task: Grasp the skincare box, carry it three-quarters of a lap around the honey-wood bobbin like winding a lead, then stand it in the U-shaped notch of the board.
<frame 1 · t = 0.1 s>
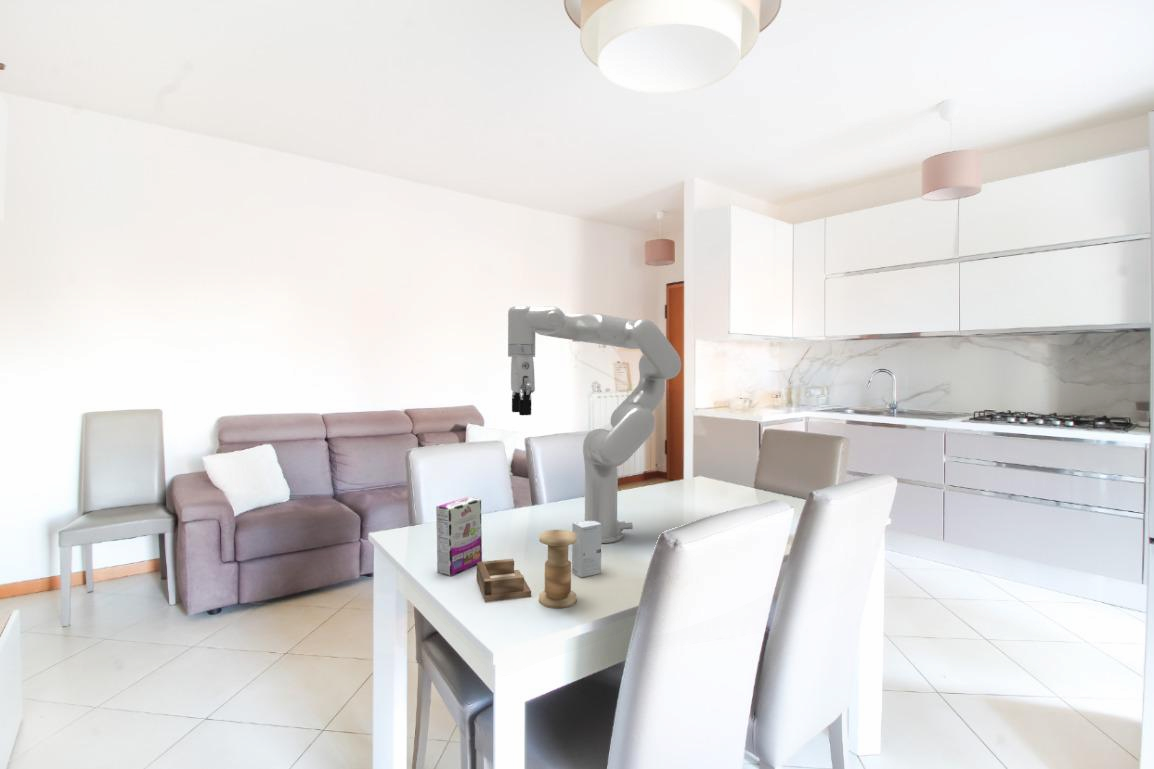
hand: (521, 413, 153), 37 cm above the table, tool pointing down, fingers open, 9 cm apart
skincare box: (586, 573, 134), on the table
candy bar box: (459, 568, 136), on the table
bobbin: (557, 600, 118), on the table
notched board: (502, 587, 124), on the table
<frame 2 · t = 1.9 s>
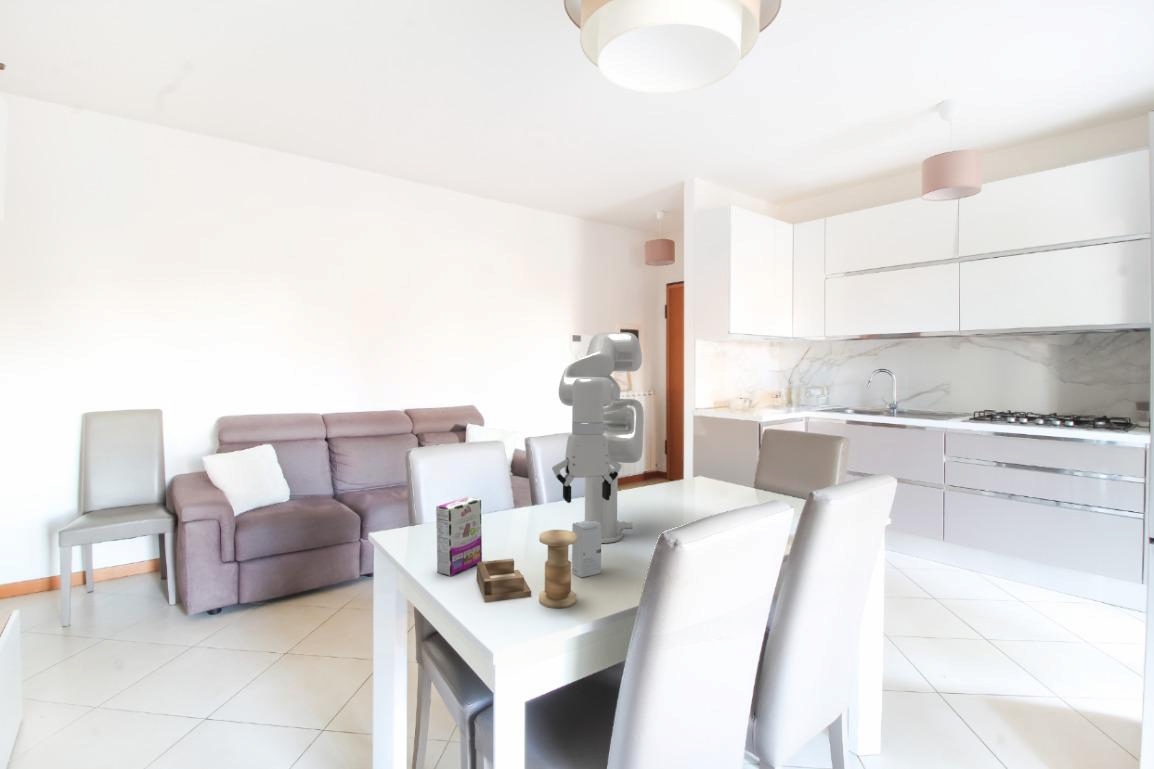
hand: (586, 500, 133), 18 cm above the table, tool pointing down, fingers open, 9 cm apart
nothing on the table moved.
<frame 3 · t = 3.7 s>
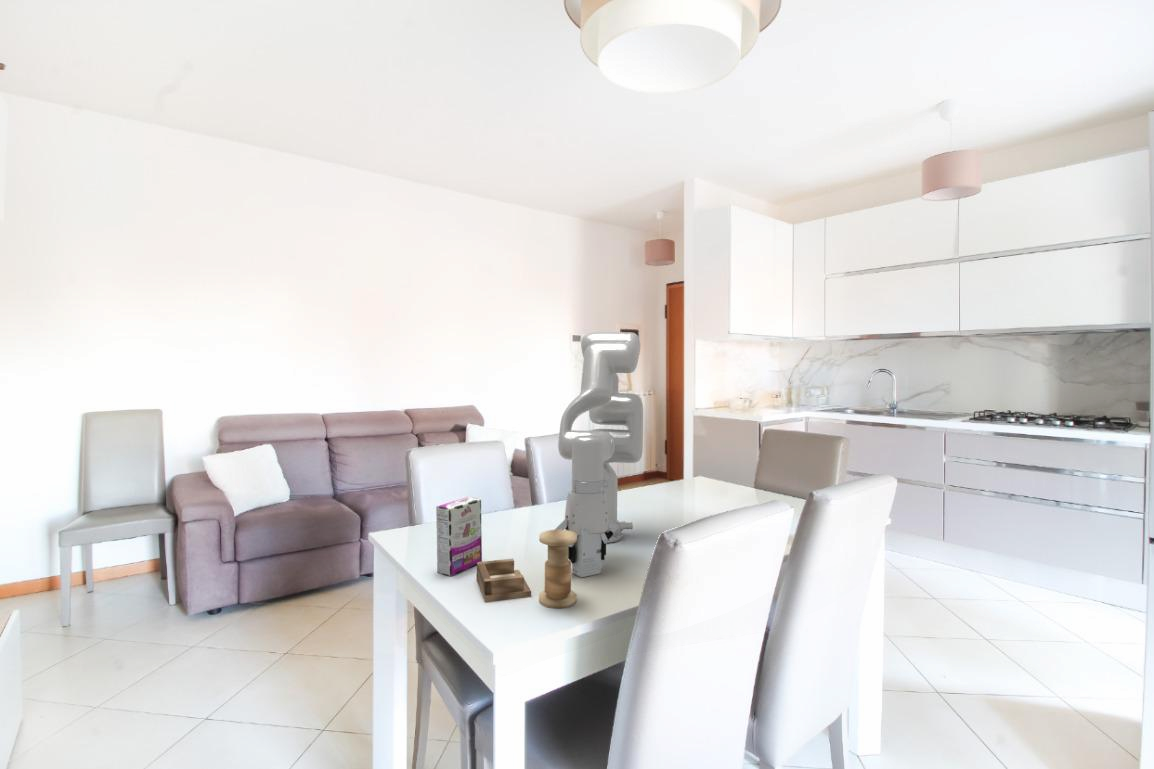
hand: (586, 559, 133), 3 cm above the table, tool pointing down, fingers closed on skincare box, 6 cm apart
skincare box: (586, 573, 134), on the table, touching gripper
everything else where it was.
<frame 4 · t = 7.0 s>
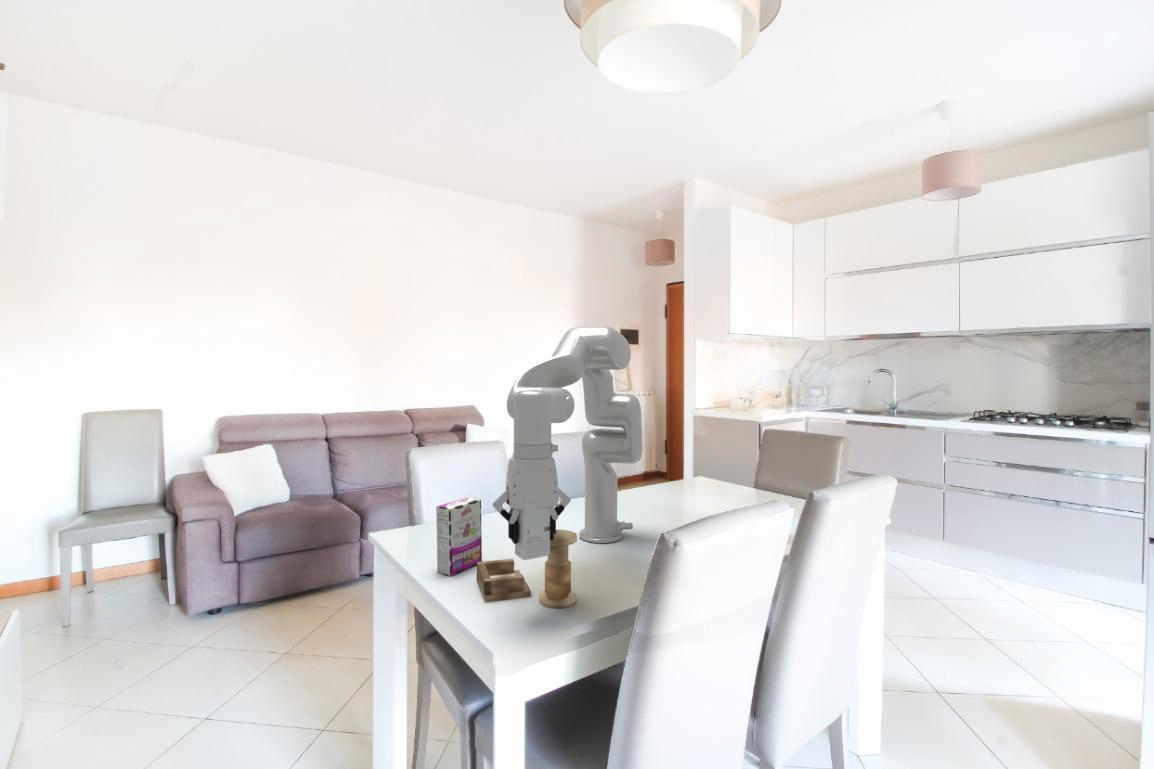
hand: (532, 539, 111), 15 cm above the table, tool pointing down, fingers closed on skincare box, 6 cm apart
skincare box: (532, 555, 111), point 12 cm above the table, touching gripper
everything else where it was.
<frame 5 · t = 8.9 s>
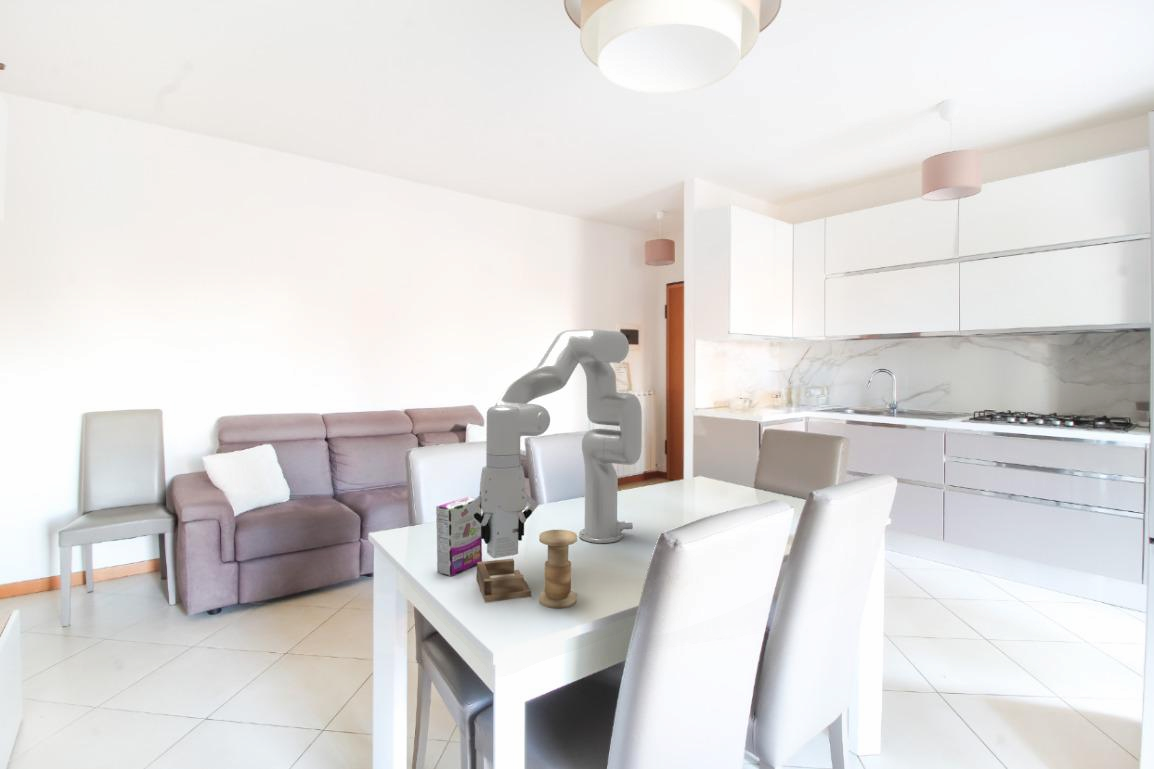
hand: (502, 539, 124), 11 cm above the table, tool pointing down, fingers closed on skincare box, 6 cm apart
skincare box: (502, 554, 124), point 8 cm above the table, touching gripper
everything else where it was.
when the fingers open (6 cm above the table, at t = 10.3 s): skincare box drops 1 cm, resting on notched board.
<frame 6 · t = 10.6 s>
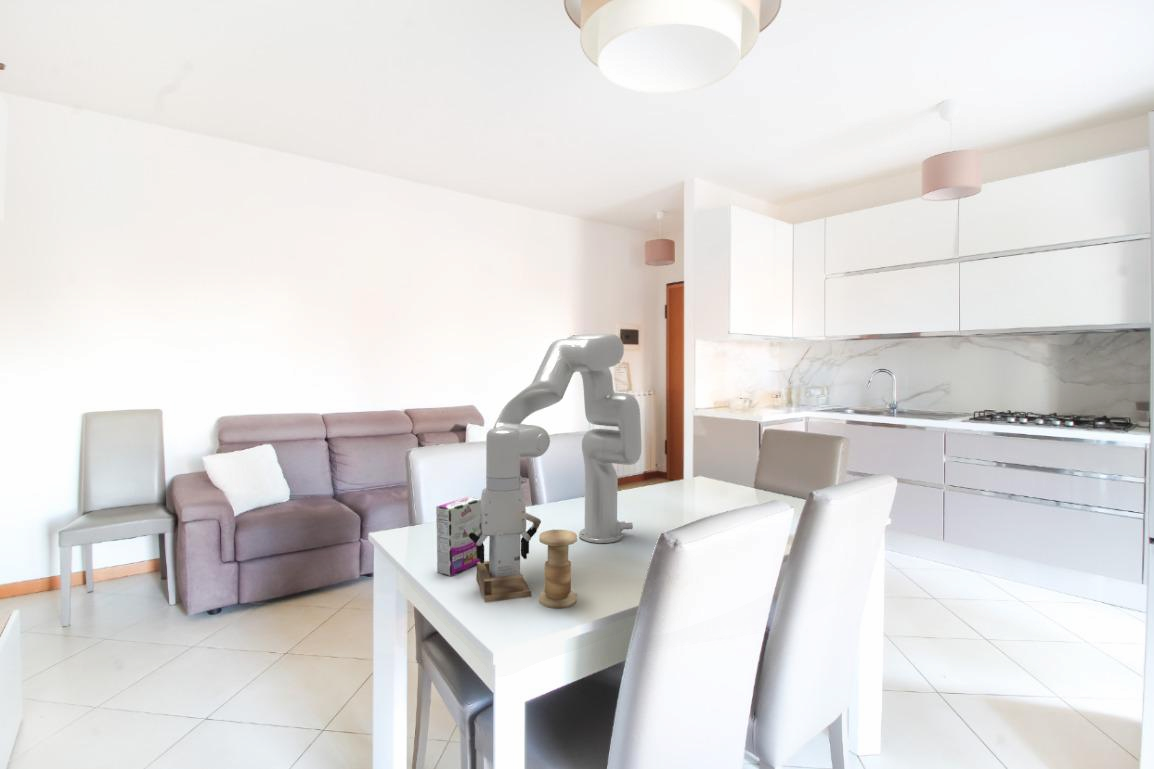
hand: (502, 559, 124), 6 cm above the table, tool pointing down, fingers open, 9 cm apart
skincare box: (504, 582, 124), point 1 cm above the table, touching notched board
everything else where it was.
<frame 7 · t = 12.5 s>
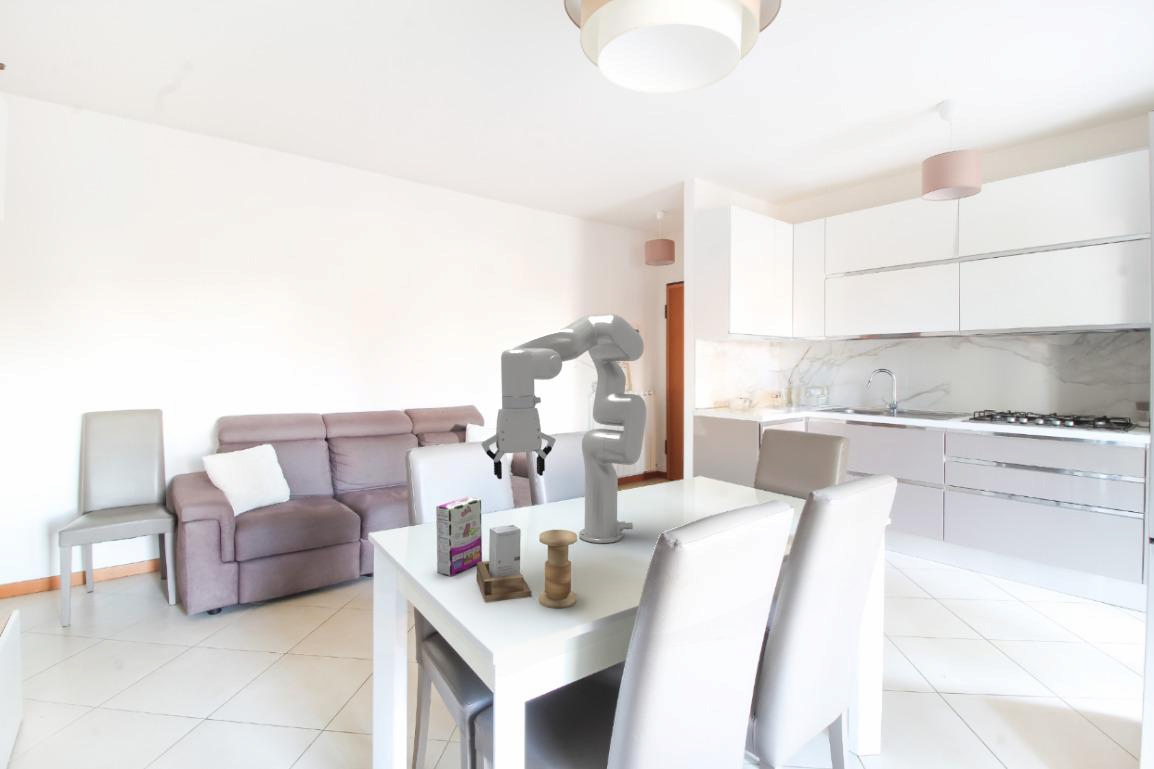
hand: (519, 476, 128), 24 cm above the table, tool pointing down, fingers open, 9 cm apart
nothing on the table moved.
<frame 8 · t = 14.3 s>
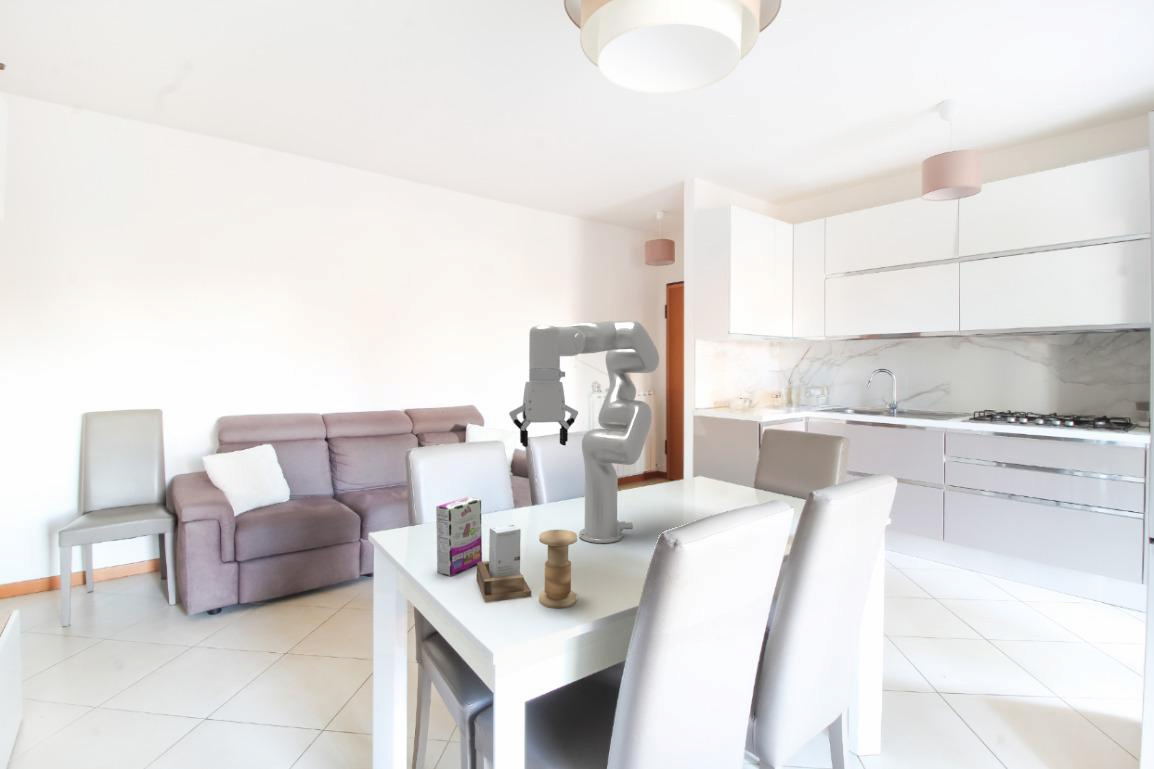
hand: (544, 445, 136), 30 cm above the table, tool pointing down, fingers open, 9 cm apart
nothing on the table moved.
at the end: skincare box inside the target area on the notched board (0.4 cm from its centre), point 1.1 cm above the notched board's base; skincare box tilted 0°; the gripper is holding nothing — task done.
